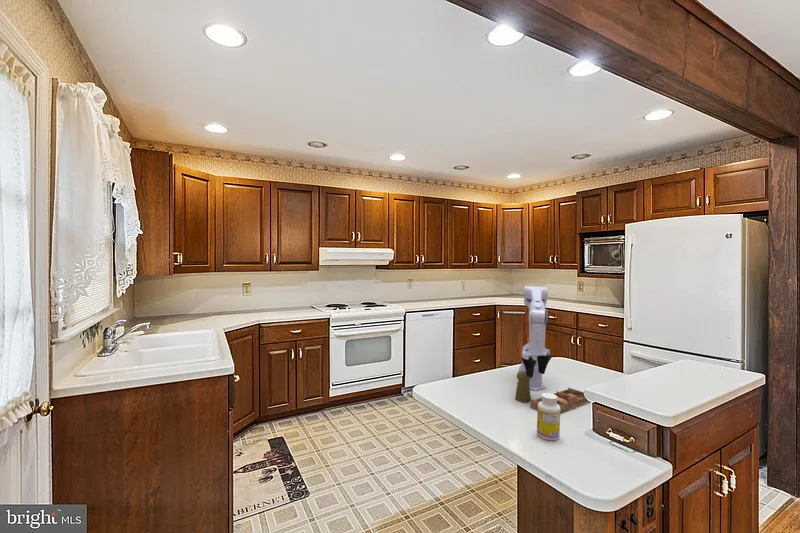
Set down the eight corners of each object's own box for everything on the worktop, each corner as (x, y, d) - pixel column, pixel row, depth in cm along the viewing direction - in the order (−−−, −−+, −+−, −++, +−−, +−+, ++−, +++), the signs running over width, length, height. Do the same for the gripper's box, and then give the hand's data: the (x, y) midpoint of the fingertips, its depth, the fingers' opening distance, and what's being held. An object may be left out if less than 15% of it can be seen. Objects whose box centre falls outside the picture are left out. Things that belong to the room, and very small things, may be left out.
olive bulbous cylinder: (532, 403, 140) (533, 375, 140) (515, 401, 141) (516, 373, 141) (529, 397, 146) (530, 370, 146) (514, 395, 147) (515, 368, 147)
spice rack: (530, 407, 136) (530, 395, 136) (568, 394, 150) (569, 383, 150) (552, 416, 129) (552, 404, 129) (590, 402, 143) (591, 390, 143)
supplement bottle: (538, 429, 119) (540, 390, 119) (560, 434, 116) (562, 394, 116) (534, 437, 113) (536, 396, 113) (557, 443, 110) (559, 401, 110)
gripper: (534, 344, 134) (533, 381, 135) (557, 340, 143) (555, 374, 143) (518, 340, 140) (517, 375, 140) (541, 336, 148) (539, 369, 149)
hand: (535, 374), depth 142 cm, fingers open, 7 cm apart
